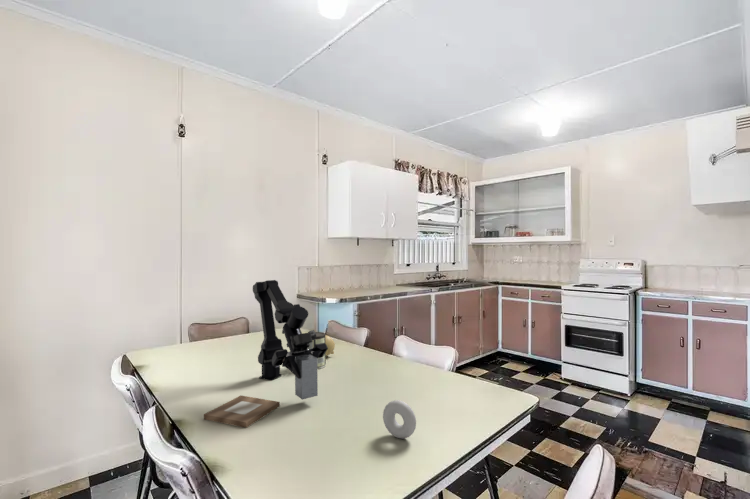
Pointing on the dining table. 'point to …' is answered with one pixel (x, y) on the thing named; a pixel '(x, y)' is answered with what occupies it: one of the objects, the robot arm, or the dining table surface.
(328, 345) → the toy pig
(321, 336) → the coffee can
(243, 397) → the walnut board
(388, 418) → the donut
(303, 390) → the gray block
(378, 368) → the dining table surface
